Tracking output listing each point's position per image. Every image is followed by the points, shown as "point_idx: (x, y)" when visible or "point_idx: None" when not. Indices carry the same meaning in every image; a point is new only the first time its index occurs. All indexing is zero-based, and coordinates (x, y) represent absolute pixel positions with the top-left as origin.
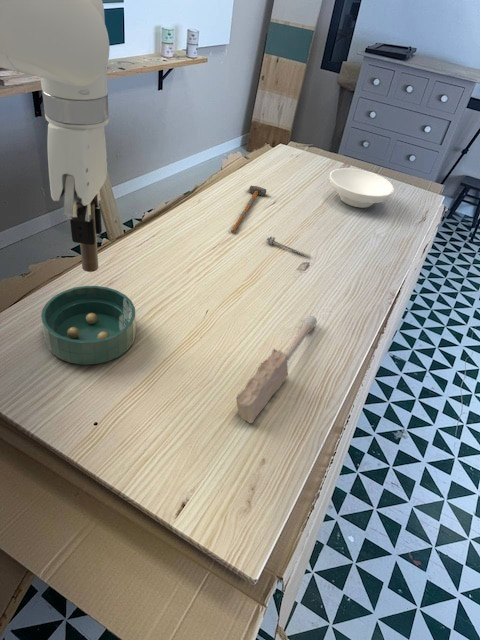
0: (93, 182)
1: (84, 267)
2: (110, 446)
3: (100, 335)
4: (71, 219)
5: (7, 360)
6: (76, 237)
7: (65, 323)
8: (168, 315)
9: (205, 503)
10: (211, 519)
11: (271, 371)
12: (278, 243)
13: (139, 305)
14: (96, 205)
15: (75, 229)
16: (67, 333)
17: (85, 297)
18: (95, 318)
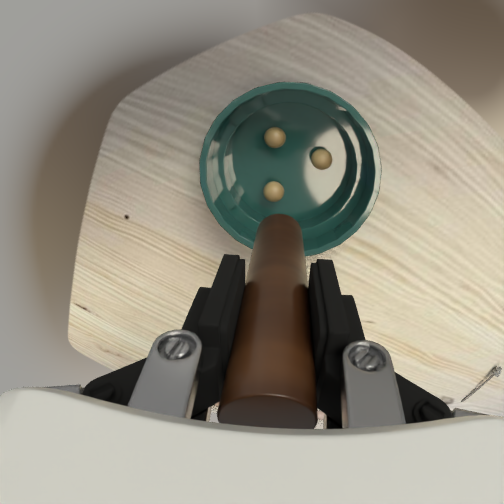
0: None
1: (258, 228)
2: (106, 240)
3: (267, 190)
4: (168, 339)
5: (204, 54)
6: (199, 291)
7: (309, 112)
8: (359, 273)
9: (92, 323)
10: (84, 326)
11: (216, 405)
12: (489, 378)
13: (382, 226)
14: (324, 413)
15: (190, 314)
16: (268, 129)
17: (364, 142)
18: (317, 168)
